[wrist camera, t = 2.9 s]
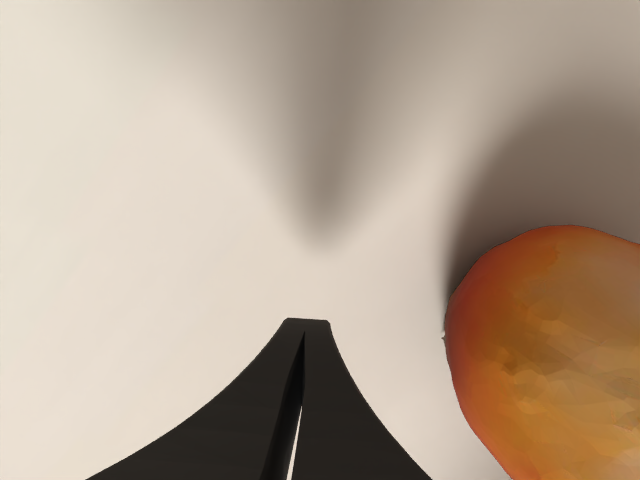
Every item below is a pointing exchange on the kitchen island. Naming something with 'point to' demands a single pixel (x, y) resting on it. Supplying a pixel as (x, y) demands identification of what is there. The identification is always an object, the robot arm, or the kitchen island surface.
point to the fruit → (551, 354)
